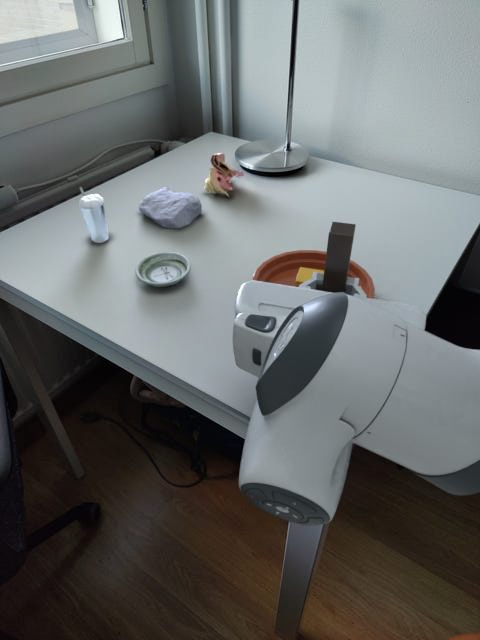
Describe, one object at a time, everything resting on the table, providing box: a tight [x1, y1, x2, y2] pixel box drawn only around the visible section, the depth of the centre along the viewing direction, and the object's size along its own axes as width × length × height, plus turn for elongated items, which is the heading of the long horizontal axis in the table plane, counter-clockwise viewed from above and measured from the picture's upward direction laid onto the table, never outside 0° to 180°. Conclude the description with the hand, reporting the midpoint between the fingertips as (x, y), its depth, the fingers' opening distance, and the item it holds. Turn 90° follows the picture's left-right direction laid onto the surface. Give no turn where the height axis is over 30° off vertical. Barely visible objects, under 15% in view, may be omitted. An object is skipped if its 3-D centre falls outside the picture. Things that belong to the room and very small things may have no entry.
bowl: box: [251, 249, 376, 299], centre depth 76 cm, size 20×20×3 cm
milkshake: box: [78, 186, 109, 244], centre depth 89 cm, size 5×5×10 cm
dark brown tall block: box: [322, 221, 356, 293], centre depth 54 cm, size 4×4×14 cm
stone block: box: [138, 186, 203, 230], centre depth 98 cm, size 12×5×10 cm
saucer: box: [134, 251, 192, 288], centre depth 81 cm, size 10×10×2 cm
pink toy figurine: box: [203, 152, 245, 197], centre depth 106 cm, size 9×10×10 cm
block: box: [295, 267, 324, 287], centre depth 75 cm, size 4×4×4 cm
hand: (335, 279), depth 55 cm, fingers closed on dark brown tall block, 2 cm apart
